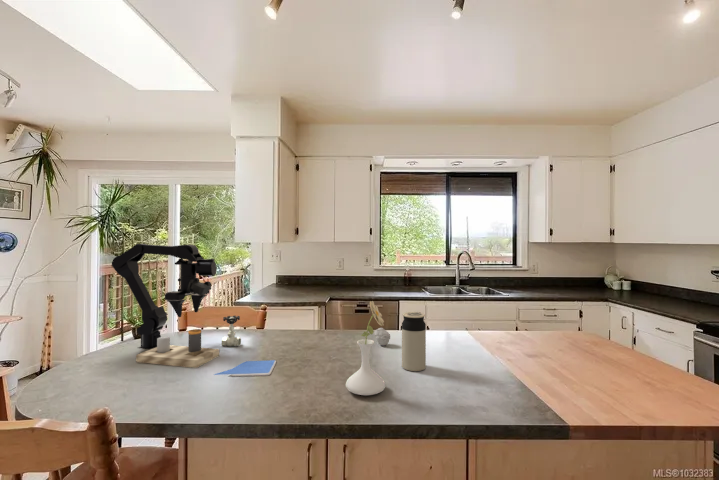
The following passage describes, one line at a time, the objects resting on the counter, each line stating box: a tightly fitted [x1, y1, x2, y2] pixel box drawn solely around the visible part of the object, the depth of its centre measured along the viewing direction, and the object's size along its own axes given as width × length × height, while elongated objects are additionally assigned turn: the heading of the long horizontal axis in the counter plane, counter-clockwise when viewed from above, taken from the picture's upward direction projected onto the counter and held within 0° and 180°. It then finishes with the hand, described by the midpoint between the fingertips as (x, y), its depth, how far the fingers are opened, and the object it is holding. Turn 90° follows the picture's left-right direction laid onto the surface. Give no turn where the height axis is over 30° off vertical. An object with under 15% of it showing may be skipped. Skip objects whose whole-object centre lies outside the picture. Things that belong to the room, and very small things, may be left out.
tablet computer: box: [213, 359, 277, 378], centre depth 111 cm, size 19×13×1 cm, turn 94°
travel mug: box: [401, 311, 427, 372], centre depth 113 cm, size 8×8×18 cm
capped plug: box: [187, 328, 202, 352], centre depth 117 cm, size 4×4×7 cm
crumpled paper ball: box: [373, 327, 391, 346], centre depth 137 cm, size 6×7×7 cm
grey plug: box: [157, 336, 171, 353], centre depth 120 cm, size 4×4×7 cm
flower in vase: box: [345, 300, 387, 396], centre depth 96 cm, size 13×11×25 cm
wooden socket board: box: [135, 344, 220, 369], centre depth 119 cm, size 24×12×3 cm, turn 77°
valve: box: [221, 315, 242, 348], centre depth 134 cm, size 7×7×12 cm
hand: (188, 314), depth 134 cm, fingers open, 9 cm apart
